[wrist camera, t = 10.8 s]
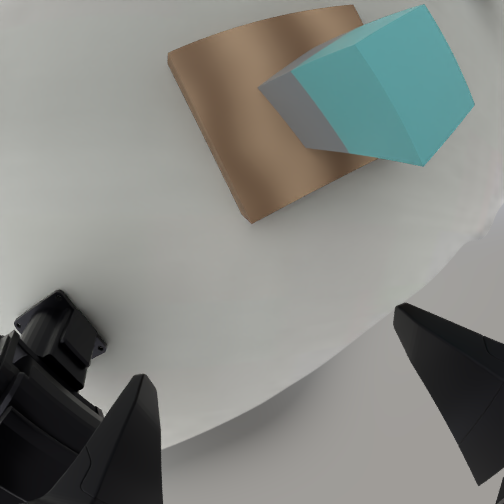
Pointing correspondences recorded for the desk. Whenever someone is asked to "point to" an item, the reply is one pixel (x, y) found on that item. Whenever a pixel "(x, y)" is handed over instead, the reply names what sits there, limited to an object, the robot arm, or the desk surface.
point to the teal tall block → (375, 90)
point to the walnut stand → (260, 107)
